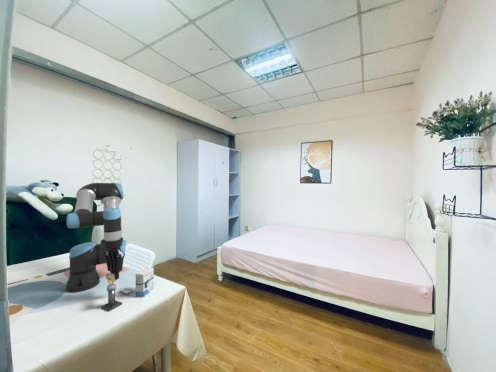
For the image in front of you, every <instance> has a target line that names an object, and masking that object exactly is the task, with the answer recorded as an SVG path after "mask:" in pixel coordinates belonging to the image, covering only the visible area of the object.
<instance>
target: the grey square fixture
mask: <svg viewBox="0 0 496 372" xmlns="http://www.w3.org/2000/svg"><path fill="white" fill-rule="evenodd" d="M122 305H123V302H121V301H118V300H116V289H115V290H113V291H107V303H105V304H103V305H101V306H100V309H102V310H105V311H106V312H111V311H113V310H114V309H116V308H118V307H120V306H122Z"/></svg>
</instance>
